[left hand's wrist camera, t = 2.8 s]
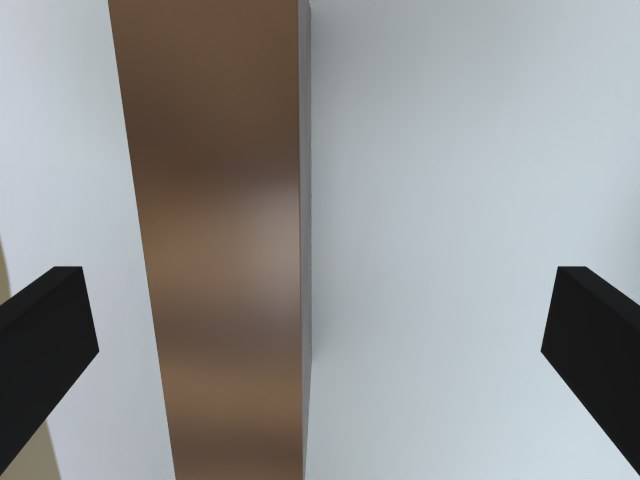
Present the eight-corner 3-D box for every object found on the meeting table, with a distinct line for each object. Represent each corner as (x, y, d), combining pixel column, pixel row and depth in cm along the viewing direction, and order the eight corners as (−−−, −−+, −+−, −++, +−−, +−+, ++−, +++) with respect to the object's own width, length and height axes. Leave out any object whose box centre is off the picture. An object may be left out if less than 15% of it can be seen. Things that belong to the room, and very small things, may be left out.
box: (200, 7, 24) (100, -47, 13) (310, 7, 24) (297, -46, 13) (227, 362, 31) (178, 503, 21) (311, 363, 31) (303, 505, 21)
